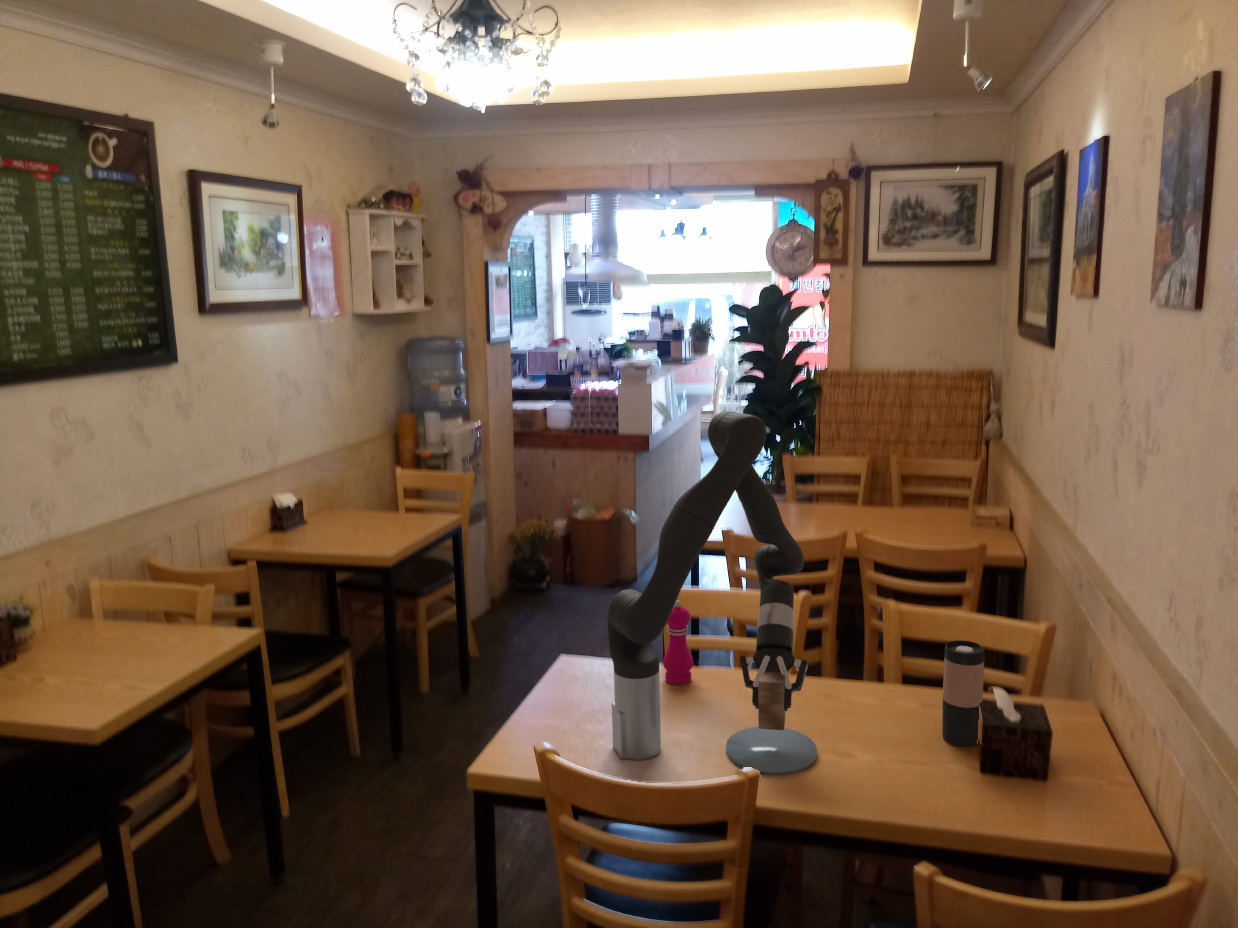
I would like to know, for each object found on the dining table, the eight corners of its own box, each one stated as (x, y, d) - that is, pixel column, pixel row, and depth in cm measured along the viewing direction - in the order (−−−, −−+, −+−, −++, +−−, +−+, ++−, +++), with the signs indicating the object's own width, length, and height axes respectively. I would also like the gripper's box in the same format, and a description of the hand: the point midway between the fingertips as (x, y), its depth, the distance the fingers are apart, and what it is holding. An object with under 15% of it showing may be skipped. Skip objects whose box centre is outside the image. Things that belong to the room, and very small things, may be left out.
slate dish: (749, 780, 177) (749, 775, 177) (712, 739, 194) (712, 733, 194) (833, 765, 182) (833, 759, 182) (790, 725, 199) (790, 720, 199)
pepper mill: (691, 686, 220) (690, 606, 217) (661, 684, 222) (659, 604, 218) (695, 674, 227) (694, 596, 224) (665, 672, 229) (664, 594, 225)
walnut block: (758, 728, 185) (758, 681, 184) (760, 717, 190) (760, 671, 188) (783, 730, 184) (783, 682, 182) (785, 718, 189) (785, 672, 187)
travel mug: (934, 739, 191) (938, 647, 188) (950, 726, 197) (954, 637, 193) (971, 751, 186) (975, 657, 183) (986, 737, 192) (991, 645, 188)
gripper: (739, 620, 192) (733, 699, 183) (810, 623, 189) (807, 704, 180) (742, 635, 199) (736, 712, 189) (810, 638, 195) (808, 717, 186)
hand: (771, 708), depth 185 cm, fingers closed on walnut block, 5 cm apart
